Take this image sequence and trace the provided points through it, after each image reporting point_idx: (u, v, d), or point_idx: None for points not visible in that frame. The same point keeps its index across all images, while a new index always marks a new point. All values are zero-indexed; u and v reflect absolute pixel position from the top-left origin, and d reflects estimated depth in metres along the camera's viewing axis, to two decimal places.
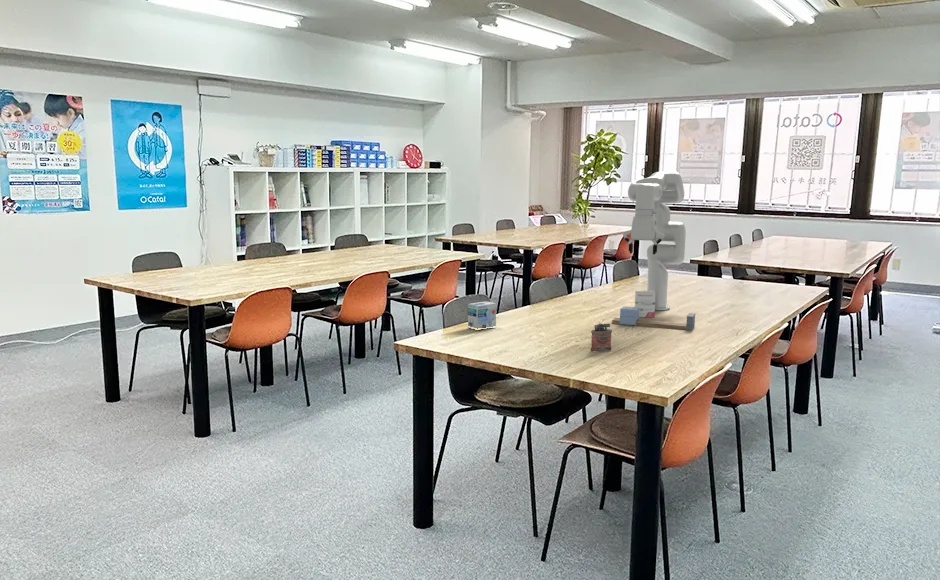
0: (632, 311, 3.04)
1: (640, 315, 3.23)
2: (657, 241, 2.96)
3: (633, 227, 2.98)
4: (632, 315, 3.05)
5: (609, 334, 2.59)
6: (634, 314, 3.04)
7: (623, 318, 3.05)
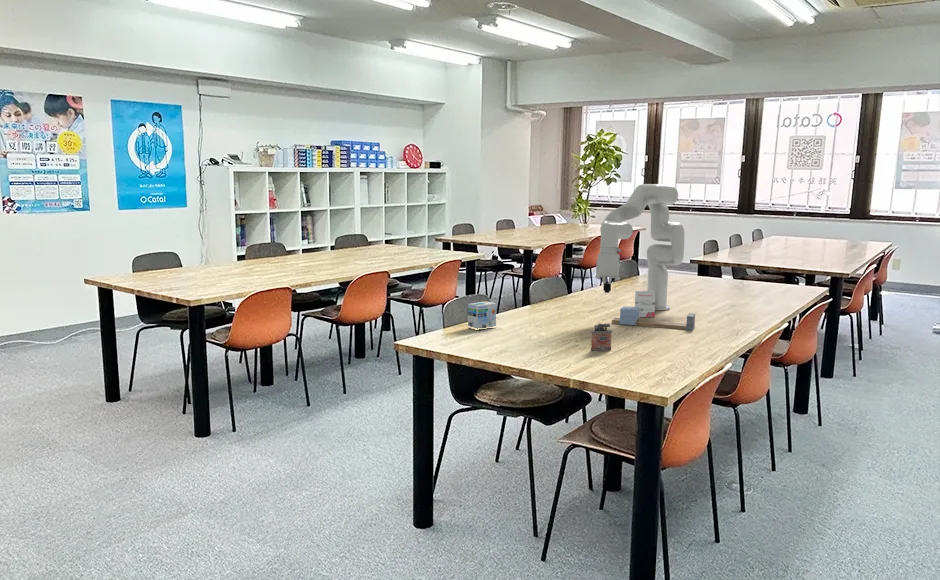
0: (632, 311, 3.04)
1: (640, 315, 3.23)
2: None
3: (598, 264, 3.08)
4: (632, 315, 3.05)
5: (609, 334, 2.59)
6: (634, 314, 3.04)
7: (623, 318, 3.05)
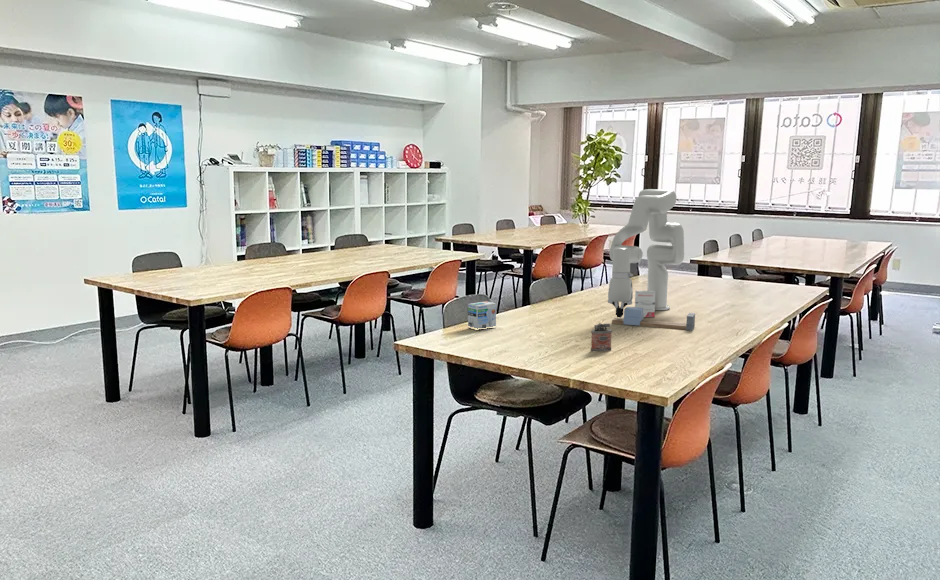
0: (636, 311, 3.04)
1: None
2: (624, 306, 3.08)
3: (610, 289, 3.08)
4: (636, 315, 3.04)
5: (609, 334, 2.59)
6: (638, 314, 3.03)
7: (627, 318, 3.05)
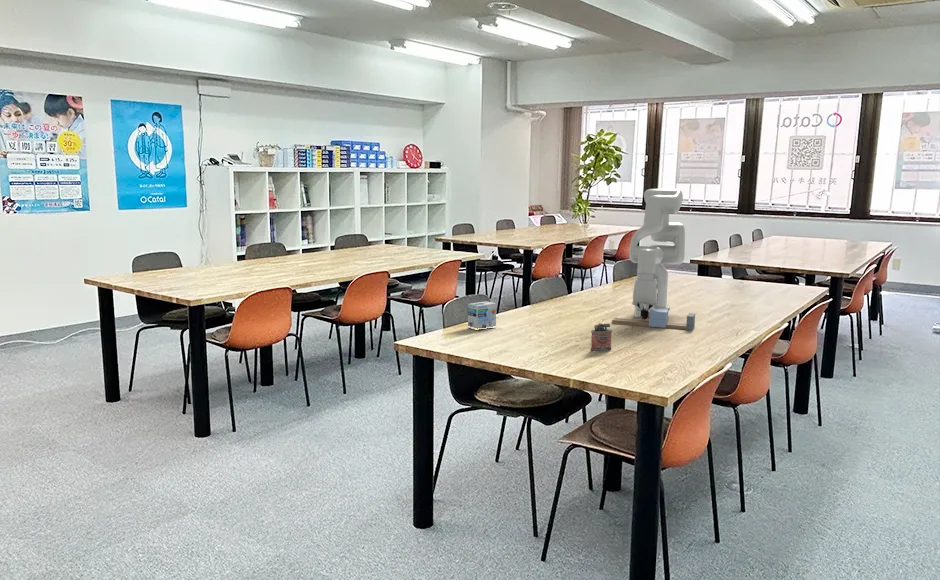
0: (662, 313, 2.99)
1: (640, 315, 3.23)
2: (649, 308, 3.04)
3: (635, 290, 3.04)
4: (662, 317, 3.00)
5: (609, 334, 2.59)
6: (664, 316, 2.99)
7: (652, 320, 3.01)
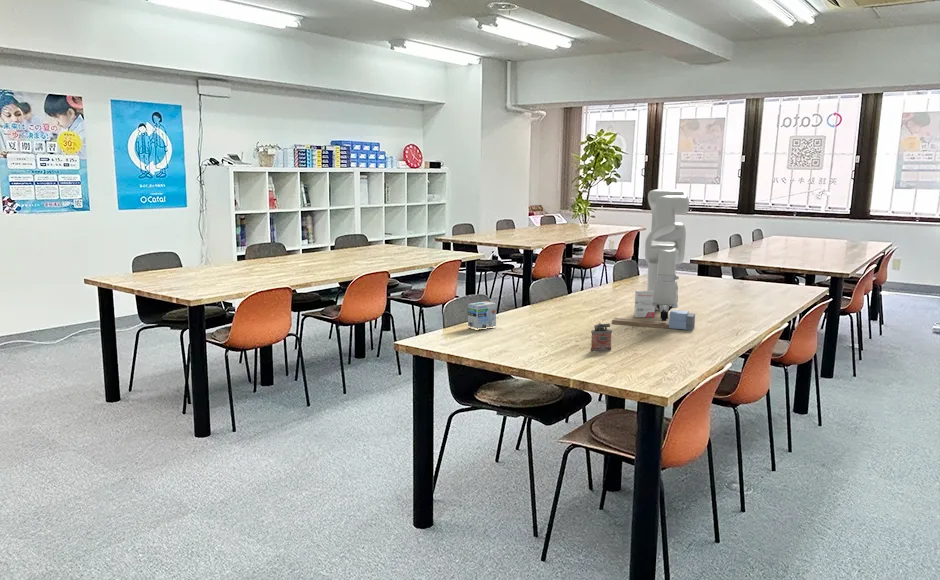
0: (682, 315, 2.96)
1: (640, 315, 3.23)
2: None
3: (655, 292, 3.00)
4: (682, 319, 2.96)
5: (609, 334, 2.59)
6: (684, 318, 2.96)
7: (673, 322, 2.97)
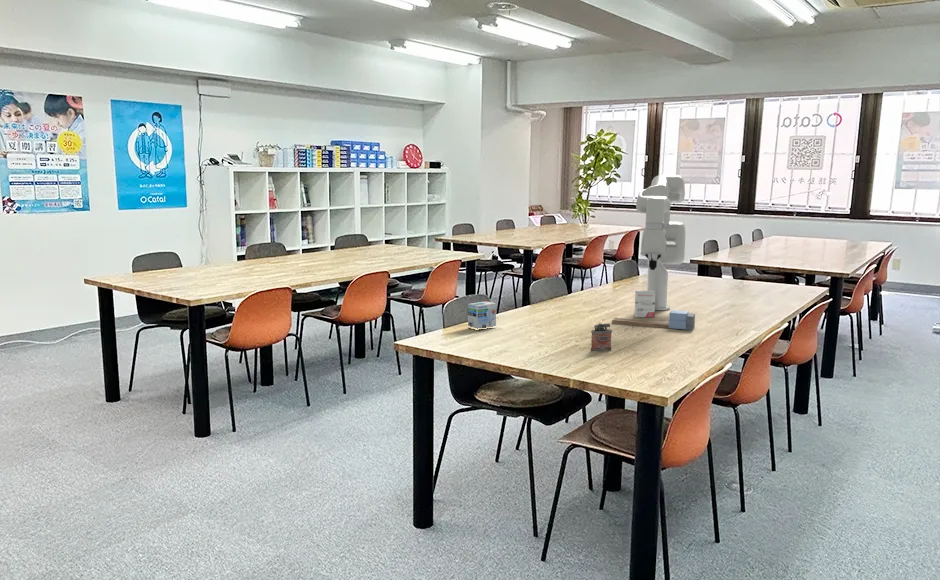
0: (682, 315, 2.96)
1: (640, 315, 3.23)
2: (658, 258, 3.00)
3: (643, 240, 3.00)
4: (682, 319, 2.96)
5: (609, 334, 2.59)
6: (684, 318, 2.96)
7: (672, 322, 2.97)
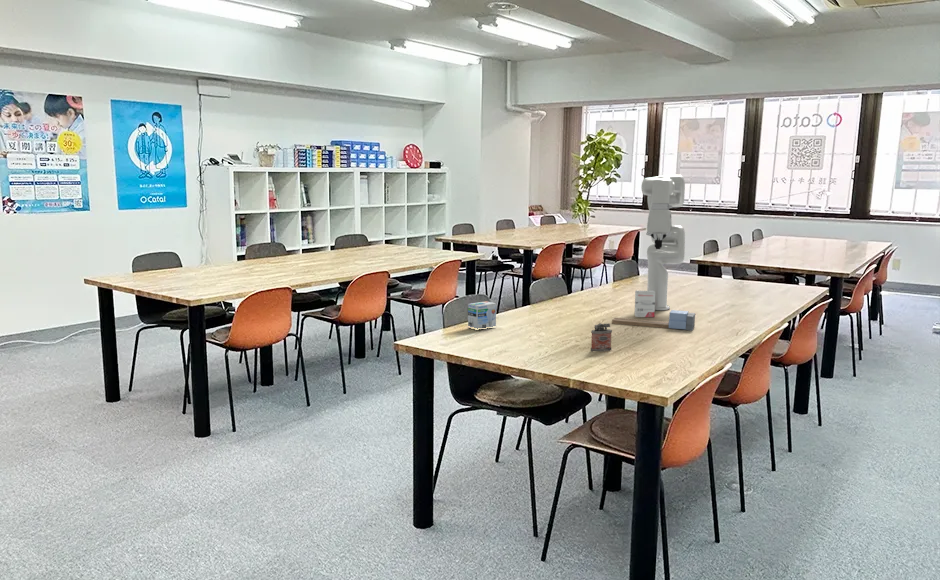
0: (682, 315, 2.96)
1: (640, 315, 3.23)
2: (663, 238, 3.10)
3: (649, 220, 3.10)
4: (682, 319, 2.96)
5: (609, 334, 2.59)
6: (684, 318, 2.96)
7: (672, 322, 2.97)
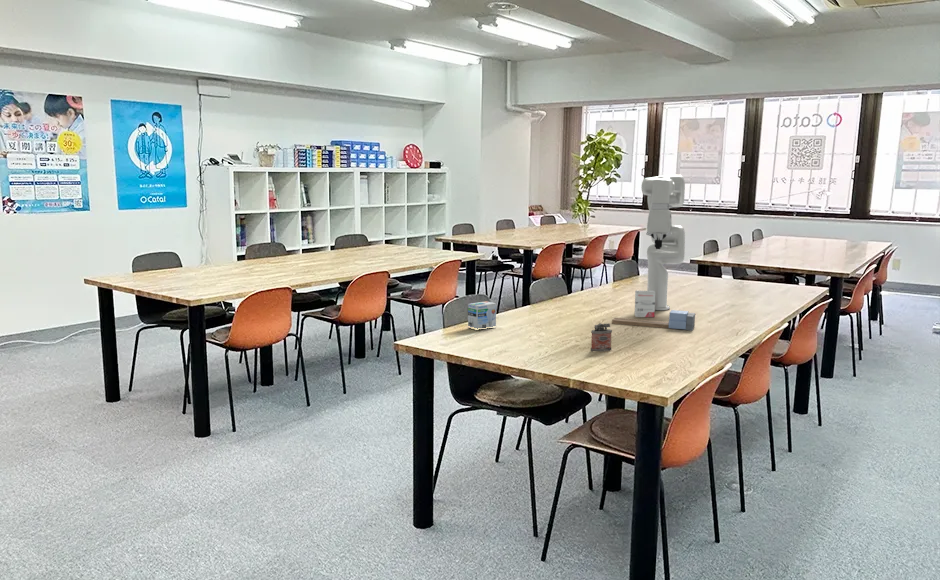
0: (682, 315, 2.96)
1: (640, 315, 3.23)
2: (663, 238, 3.10)
3: (649, 220, 3.10)
4: (682, 319, 2.96)
5: (609, 334, 2.59)
6: (684, 318, 2.96)
7: (672, 322, 2.97)
